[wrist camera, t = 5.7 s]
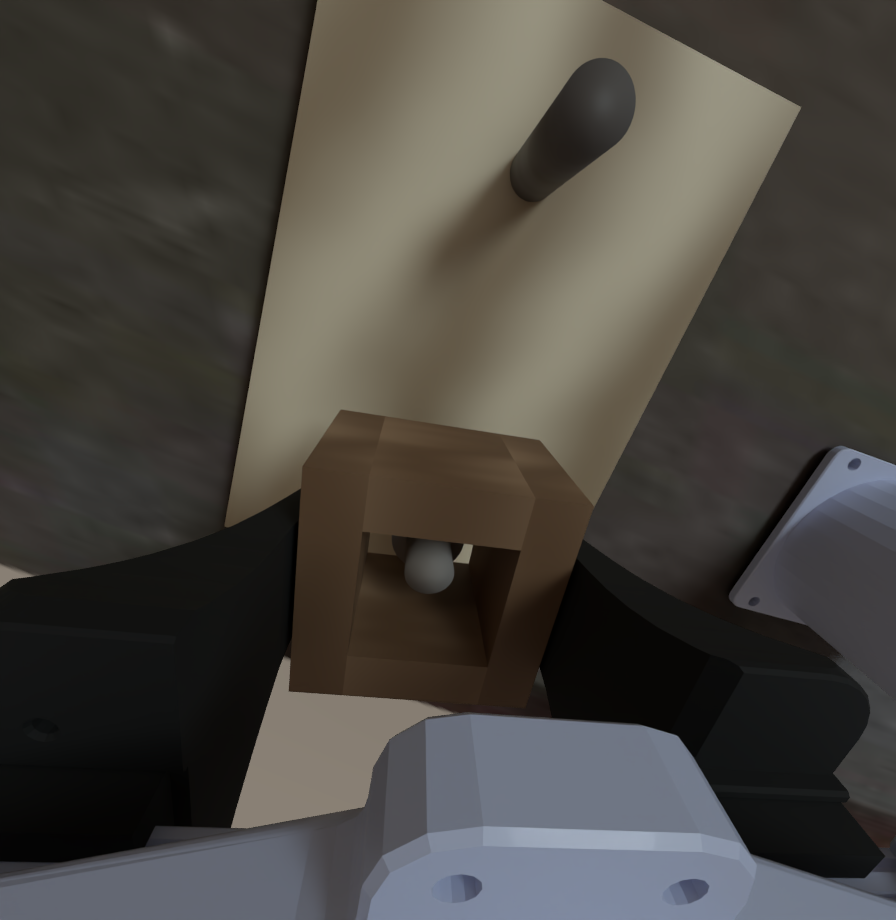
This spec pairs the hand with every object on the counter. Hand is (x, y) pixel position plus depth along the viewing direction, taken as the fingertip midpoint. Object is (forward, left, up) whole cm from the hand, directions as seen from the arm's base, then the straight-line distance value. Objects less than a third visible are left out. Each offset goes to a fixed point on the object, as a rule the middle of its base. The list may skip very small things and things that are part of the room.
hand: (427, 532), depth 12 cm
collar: (0, 0, -1) cm, 1 cm away
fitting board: (0, -5, -5) cm, 7 cm away
